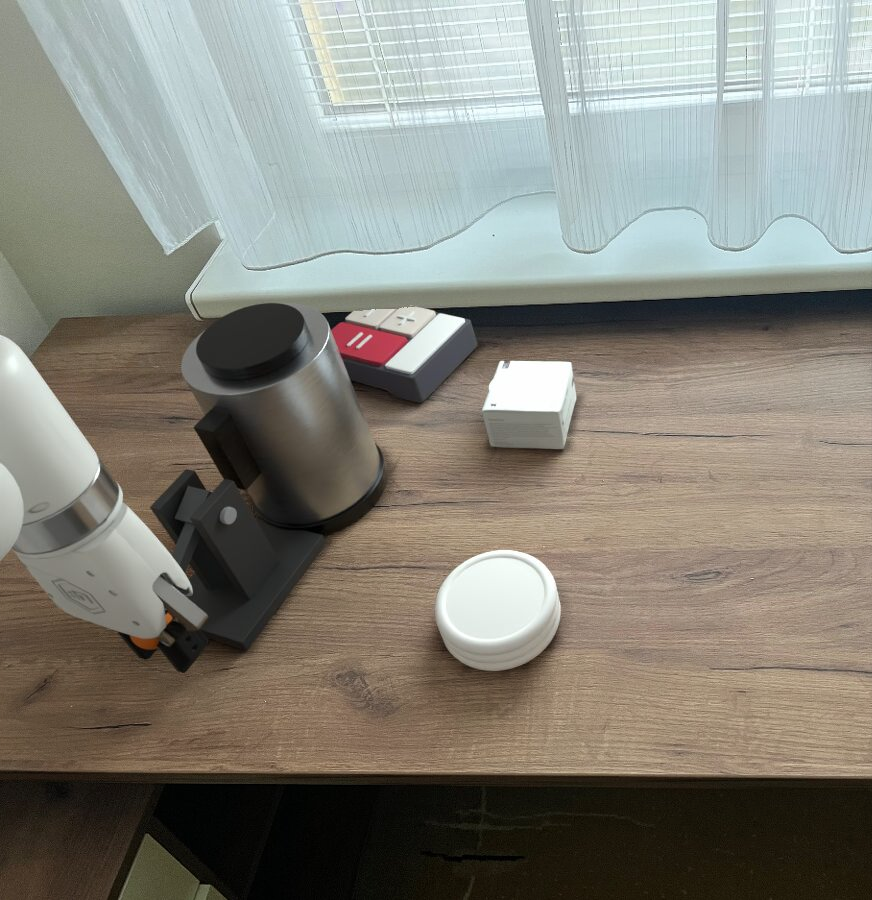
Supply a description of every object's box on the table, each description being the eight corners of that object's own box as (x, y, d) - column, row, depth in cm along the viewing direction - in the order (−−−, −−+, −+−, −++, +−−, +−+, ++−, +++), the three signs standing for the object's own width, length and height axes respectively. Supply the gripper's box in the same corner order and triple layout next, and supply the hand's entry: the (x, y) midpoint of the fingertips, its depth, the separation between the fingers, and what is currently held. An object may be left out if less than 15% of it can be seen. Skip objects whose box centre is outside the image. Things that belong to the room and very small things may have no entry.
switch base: (247, 650, 73) (186, 563, 65) (164, 624, 76) (95, 537, 68) (326, 543, 81) (281, 453, 72) (248, 522, 84) (196, 433, 75)
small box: (565, 450, 86) (558, 412, 83) (489, 448, 88) (479, 410, 84) (578, 398, 92) (572, 360, 88) (506, 396, 93) (497, 359, 89)
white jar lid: (477, 560, 77) (469, 535, 75) (580, 589, 74) (575, 563, 72) (420, 653, 71) (409, 629, 69) (530, 689, 68) (523, 664, 65)
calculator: (368, 291, 103) (470, 313, 97) (380, 321, 106) (479, 344, 100) (305, 345, 97) (410, 373, 90) (319, 375, 100) (421, 404, 93)
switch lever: (174, 656, 69) (144, 651, 66) (143, 645, 70) (113, 641, 67) (235, 501, 73) (210, 490, 70) (205, 494, 74) (179, 482, 71)
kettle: (331, 567, 79) (252, 412, 65) (216, 535, 83) (121, 384, 70) (411, 454, 88) (357, 300, 75) (305, 431, 92) (236, 281, 79)
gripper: (-76, 517, 59) (67, 663, 72) (107, 573, 54) (226, 719, 67) (11, 441, 64) (131, 591, 77) (187, 486, 58) (284, 638, 71)
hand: (174, 649), depth 71 cm, fingers closed on switch lever, 3 cm apart
